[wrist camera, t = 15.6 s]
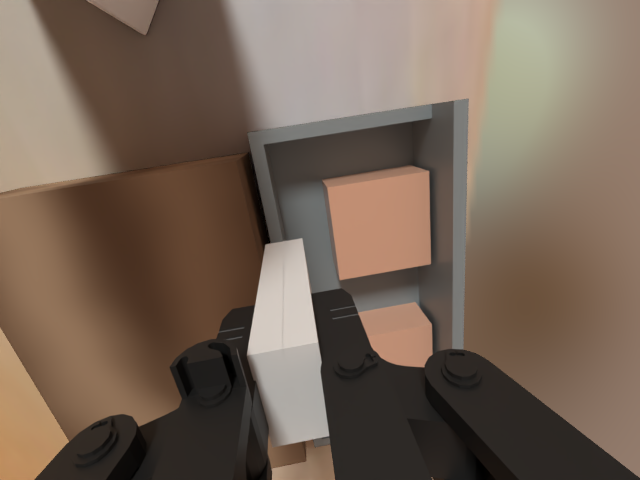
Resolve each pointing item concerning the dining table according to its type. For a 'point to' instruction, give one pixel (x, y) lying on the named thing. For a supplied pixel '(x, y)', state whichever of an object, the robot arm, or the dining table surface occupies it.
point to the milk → (129, 12)
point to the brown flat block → (128, 283)
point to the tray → (364, 156)
